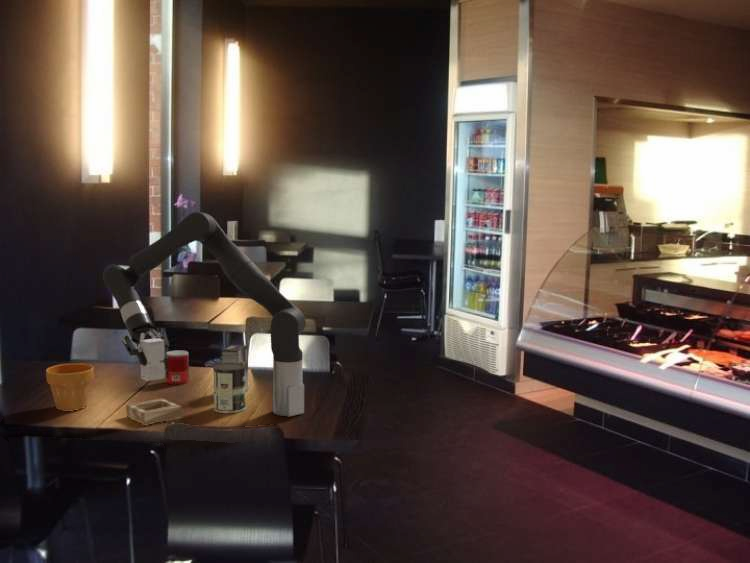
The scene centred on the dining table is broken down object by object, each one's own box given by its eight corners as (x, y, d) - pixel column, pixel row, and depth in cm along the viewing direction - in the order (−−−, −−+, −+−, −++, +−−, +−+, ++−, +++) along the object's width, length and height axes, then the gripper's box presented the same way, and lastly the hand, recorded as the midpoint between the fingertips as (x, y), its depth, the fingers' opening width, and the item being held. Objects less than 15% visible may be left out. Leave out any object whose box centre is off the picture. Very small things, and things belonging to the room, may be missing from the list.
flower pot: (68, 417, 249) (67, 375, 247) (37, 409, 255) (36, 369, 254) (104, 406, 261) (103, 366, 259) (73, 399, 268) (72, 361, 266)
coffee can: (243, 403, 267) (243, 361, 265) (247, 412, 257) (247, 369, 255) (212, 405, 264) (211, 363, 262) (215, 414, 254) (214, 370, 252)
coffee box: (231, 388, 284) (231, 344, 282) (248, 390, 283) (248, 345, 281) (221, 395, 275) (220, 349, 273) (239, 397, 274) (238, 350, 272)
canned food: (193, 382, 292) (192, 352, 291) (174, 386, 286) (173, 356, 285) (181, 378, 297) (180, 349, 296) (162, 382, 292) (161, 352, 290)
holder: (181, 418, 249) (180, 406, 249) (145, 425, 241) (145, 413, 241) (161, 409, 258) (161, 398, 258) (126, 416, 250) (126, 404, 249)
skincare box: (147, 381, 244) (146, 342, 243) (140, 378, 248) (139, 340, 246) (165, 378, 249) (165, 339, 247) (158, 375, 252) (157, 337, 250)
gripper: (118, 314, 246) (137, 359, 239) (161, 309, 256) (180, 352, 249) (110, 328, 251) (129, 373, 244) (153, 323, 260) (172, 366, 253)
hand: (155, 362), depth 246 cm, fingers closed on skincare box, 6 cm apart
